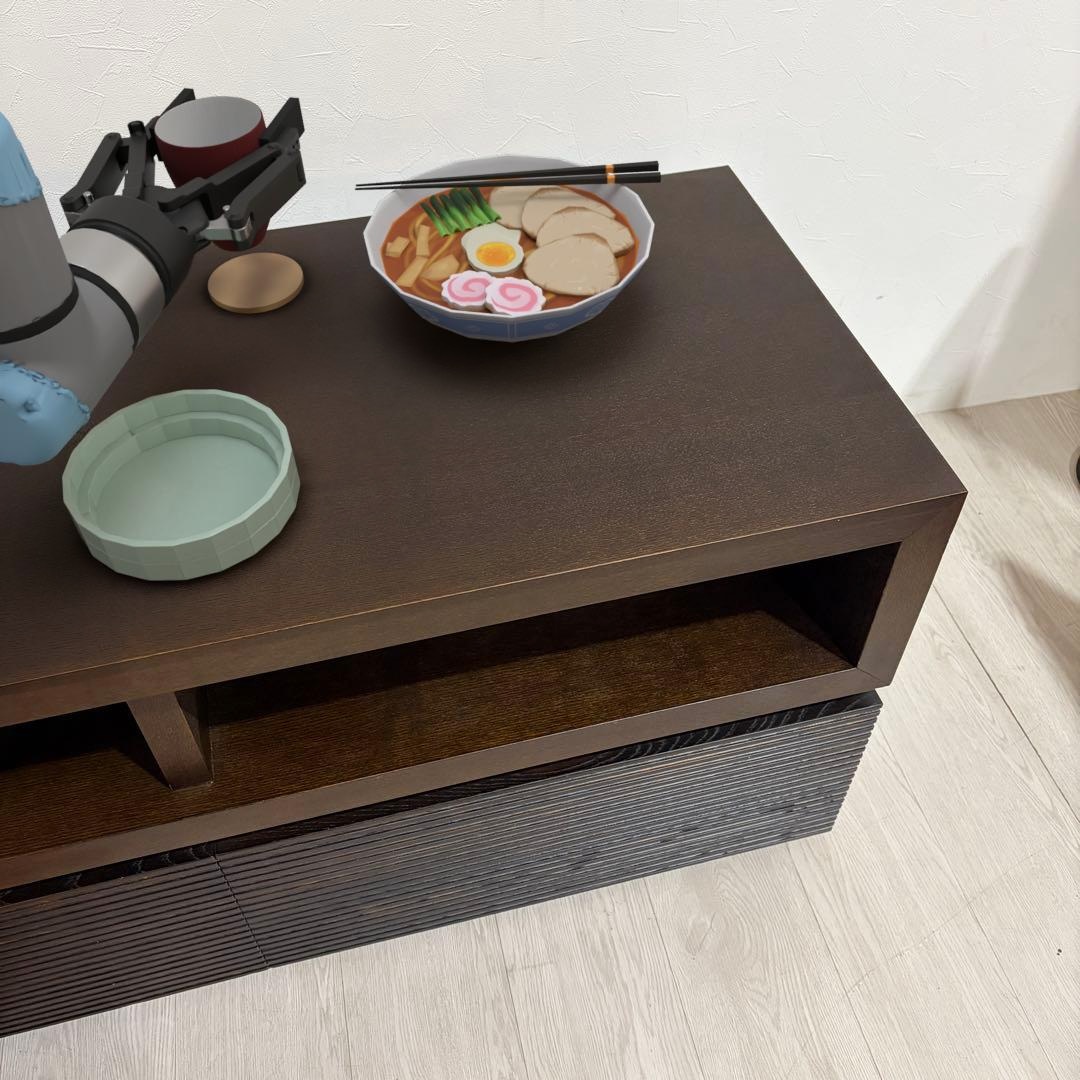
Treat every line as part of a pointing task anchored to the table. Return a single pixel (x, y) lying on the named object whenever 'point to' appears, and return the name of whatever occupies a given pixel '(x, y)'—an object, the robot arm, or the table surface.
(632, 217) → the ramen bowl
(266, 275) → the coaster
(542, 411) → the table surface
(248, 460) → the serving bowl
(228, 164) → the mug
